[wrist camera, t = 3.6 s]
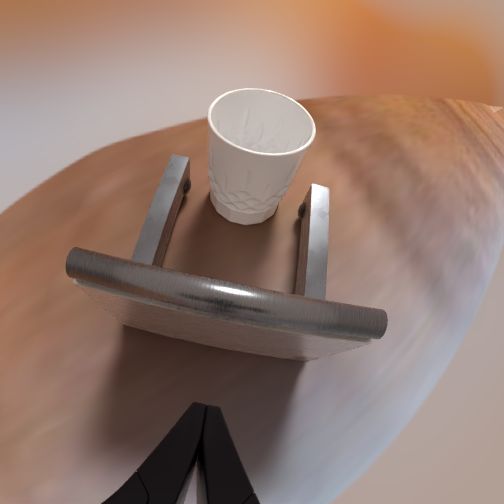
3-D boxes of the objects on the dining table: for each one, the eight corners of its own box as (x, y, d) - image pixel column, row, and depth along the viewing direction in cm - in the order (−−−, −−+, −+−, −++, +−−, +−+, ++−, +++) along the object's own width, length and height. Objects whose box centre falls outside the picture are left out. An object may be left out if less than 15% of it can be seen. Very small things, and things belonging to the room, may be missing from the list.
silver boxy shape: (306, 362, 22) (394, 339, 11) (123, 326, 21) (54, 270, 10) (318, 212, 29) (373, 122, 18) (170, 180, 28) (162, 75, 17)
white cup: (271, 162, 31) (294, 88, 22) (294, 224, 28) (332, 153, 19) (198, 170, 29) (200, 90, 20) (212, 237, 26) (218, 160, 17)
